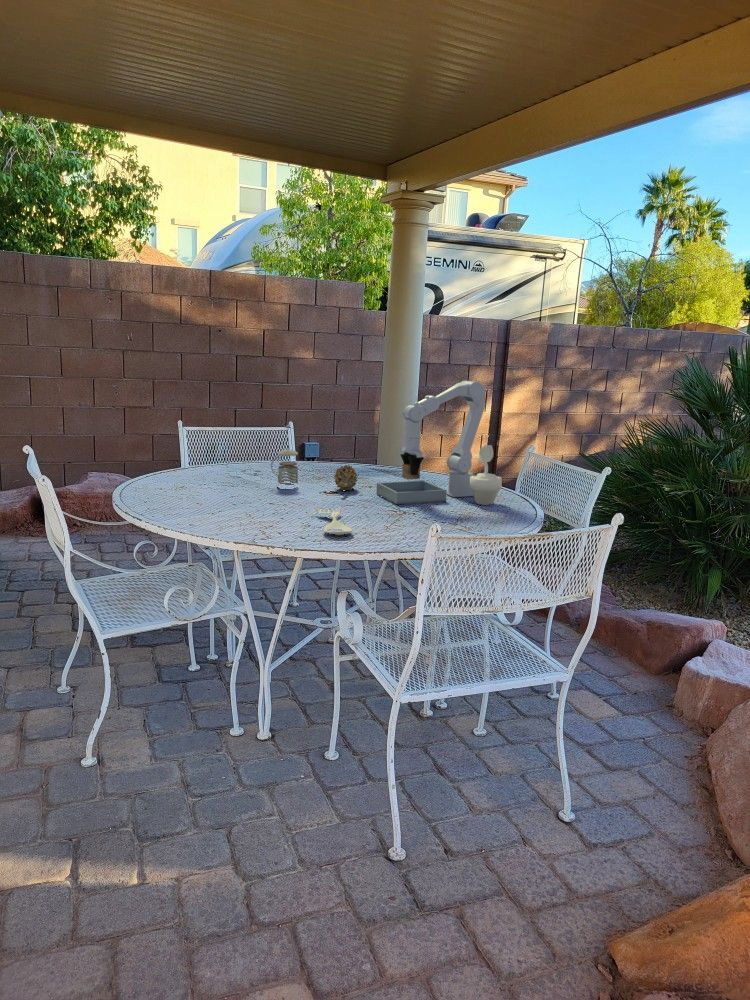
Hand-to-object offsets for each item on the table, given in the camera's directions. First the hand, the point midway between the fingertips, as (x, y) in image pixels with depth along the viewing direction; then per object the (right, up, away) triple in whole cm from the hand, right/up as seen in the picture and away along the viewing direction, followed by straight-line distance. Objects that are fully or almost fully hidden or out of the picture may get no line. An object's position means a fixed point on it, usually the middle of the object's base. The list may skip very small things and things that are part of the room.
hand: (411, 473), depth 275 cm
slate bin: (0, -9, +2) cm, 9 cm away
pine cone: (-25, -7, +11) cm, 29 cm away
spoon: (-27, -19, -42) cm, 53 cm away
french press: (-49, -5, +18) cm, 53 cm away
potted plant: (+27, -11, -4) cm, 30 cm away
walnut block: (0, -2, 0) cm, 2 cm away
